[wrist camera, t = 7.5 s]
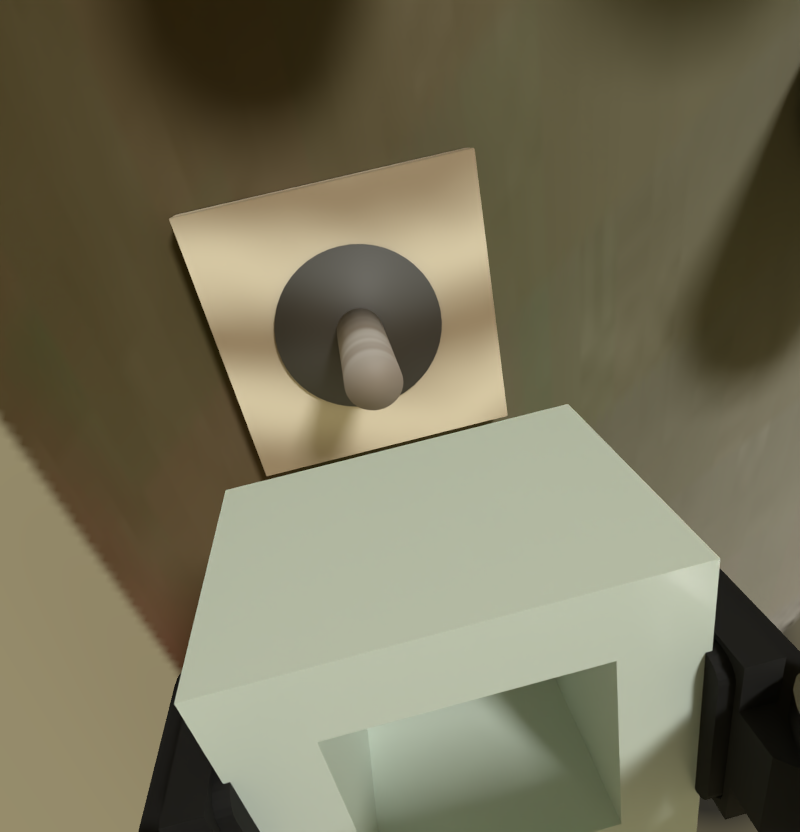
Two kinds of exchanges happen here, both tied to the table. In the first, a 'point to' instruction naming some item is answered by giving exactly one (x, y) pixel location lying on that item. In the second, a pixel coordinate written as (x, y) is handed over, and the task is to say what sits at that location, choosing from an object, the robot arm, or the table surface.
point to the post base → (352, 308)
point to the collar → (456, 640)
